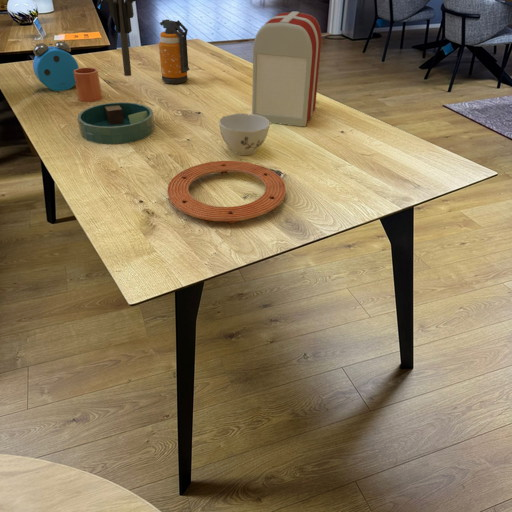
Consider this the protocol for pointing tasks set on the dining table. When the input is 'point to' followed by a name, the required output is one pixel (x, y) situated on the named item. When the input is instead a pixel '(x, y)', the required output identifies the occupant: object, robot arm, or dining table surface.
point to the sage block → (138, 117)
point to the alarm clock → (55, 66)
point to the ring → (192, 207)
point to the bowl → (102, 132)
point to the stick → (124, 39)
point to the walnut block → (114, 114)
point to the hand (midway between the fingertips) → (124, 31)
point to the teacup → (244, 132)
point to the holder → (88, 84)
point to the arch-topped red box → (286, 68)
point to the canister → (173, 52)
